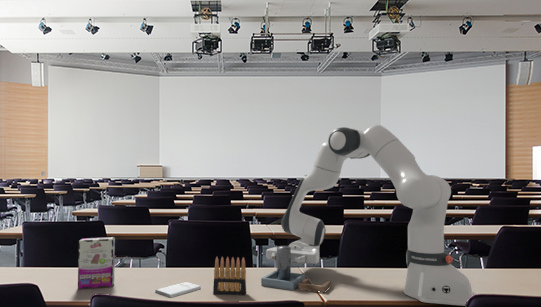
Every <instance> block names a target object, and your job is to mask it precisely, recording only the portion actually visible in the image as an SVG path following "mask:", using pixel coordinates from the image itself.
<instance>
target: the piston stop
mask: <svg viewBox="0 0 541 307" xmlns="http://www.w3.org/2000/svg"><path fill="white" fill-rule="evenodd" d="M276 247H277V260H276V271H277V280H284V281H291V273H292V272H291V270H292V268H291V266H292V265H291V264H292V262H291V247H289V245H279V246H276Z"/></svg>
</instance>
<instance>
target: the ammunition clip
mask: <svg viewBox="0 0 541 307" xmlns="http://www.w3.org/2000/svg"><path fill="white" fill-rule="evenodd" d="M224 260H226V261H224ZM246 273H247V271H246V259H245V257H244V256H243V257H242V259H241V261H240V257H238V256H237V258H236V263H235V258H234V256H232V257H231V261H230V258H229V256H227V257H226V259H224V257H223V256H221V258H220V264H219V258H218V256H216V257H215V261H214V270H213V275H214V276H213V286H212V287H213V288H212V289H213V290H212V295H215V296H217V295H219V296H220V295H221V296H246V295H247V274H246Z"/></svg>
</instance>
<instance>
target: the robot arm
mask: <svg viewBox="0 0 541 307" xmlns="http://www.w3.org/2000/svg"><path fill="white" fill-rule="evenodd" d="M369 156H371V157H372V159H373V160H374V161H375V162H376V163H377V165H378V166H380V168H381V169H382V170H383V171H384V172H385V174H386V175H387V176H388V178H389V179H390V181H391V182H392V184H393V186H394V189H395V190H396V197H397V200H398V201H399V203H400V204H401V205H402V206H404V207H408V208H410V209H412V214H411V218H410V221H409V222H408V225H407V249H406V252H405V253H406V254H405V256H406V257H405V258H406V262H405V263H406V266H407V269H406V279H405V285H404V288H403V293H404V294H405V295H406V296H408V297H410V298H413V299H416V300H418V301H420V302H422V303H428V304H439V305H451V306H463V307H464V306H465V304H466V302H467V300H468V299H469V298H470V297H471V296H472V295H474V294H477V293H476V292H474V291H473V289H472V285H471V282H470V280H469V278H468V277H467V275H465V274H464V273H462V272H461V271H460V270H459V269H457V268H456V267H455V266H454V265H453V264H452V262H453V260H454V259H453V257H452V256H451V254H450V252H449V253H448V252H446V251H445V232H444V230H445V221H446V215H447V212H448V211H447V210H448V203H449V199H450V197H451V196H452V195H451V194H452V189H451V186H450V184H449V182H448V181H447V180H445V179H444V178H442V177H440V176H438V175H436V174H435V175H433V174H431V175H429V174H426V173H425V172H424V171H423V170H422V168H421V167H420V165H419V164H418V162H417V161H416V157H415V155H414V154H413V153H412V152H411V151H410V149H408V147H407V146H405V145H404V143H403V142H402V141H400V139H399V138H398V137H397V136H396V135H395V134H393V133H392V132H391V131H390V130H388V128H386V127H384V126H383V125H381V124H373V125H370V126H369V127H368V128H367V129H366V130H365V131H362V130H359V129H356V128H350V127H345V126H344V127H338V128H335V129H334V130H332V131H331V133H330V134H329V137H328V140H327V141H325V142H323V143H322V144H321V145H320V148H319V150H318V152H317V154H316V158H315V160H314V162H313V163H314V164H313V167H312V169H311V171H310V172H309V173H307V174H305V175H303V177H301V179H300V180H299V183H298V185H297V187H296V189H295V190H294V194H293V196H292V198H291V200H290V202H289V205H288V207H287V209H286V210H285V212H284V214H283V216H282V218H281V221H280V225H281V227H282V228H281V229H282V230H283V232H284V233H286V234H290V235H294V236H296V237H299V238H300V239H298V240H295V241H292V242H291V243H289V245H288V246H289V247H291V264H294V265H303V264H308V265H309V264H310V265H317V264H319V262H320V245H322V243H323V242H324V239H325V237H326V232H327V230H326V229H327V228H326V226H325V224H324V222H323V220H322V219H320V218H317V217H314V216H312V215H309V214H305V213H303V212H301V211H300V208H301V207H302V204H303V202H304V200H305V198H306V195H307V194H308V193H309V192H313V191H325V190H329V189H332V188H333V187H334V186H336V185H337V183H338V181H339V179H340V175H341V172H342V168H343V164H344V162H345V161H346V160H347V159H348V158H349V159H351V160H352V159H358V160H359V159H365V158H367V157H368V158H369ZM277 247H278V246H276V247H275V246H274V247H270V248H267V249H266V250H265V251H266V252H265V257H266V259H268V260H270V261H277ZM465 307H466V306H465Z"/></svg>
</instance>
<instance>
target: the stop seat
mask: <svg viewBox="0 0 541 307" xmlns="http://www.w3.org/2000/svg"><path fill="white" fill-rule="evenodd" d="M331 284H332V282H331V281H330V280H327V281H326V282H324V283H323V284H322V285H320V284H319V285H318V284H312V283H310V278H308V277H307V278H306V277H305V280H303V281H302V282H300V283H299V286H298V290H299V289H301V290H300V291H305V290H310V291H309V292H312V291H315V292H314V293H319V292H318V291H320V292H325V291H326V290H327V289H328V288H329V287H330V286H331V287H332V285H331ZM331 287H330V288H331ZM330 288H329V289H330ZM329 289H328V290H329ZM328 290H327V291H328ZM327 291H326V292H327ZM326 292H325V293H326Z"/></svg>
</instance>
